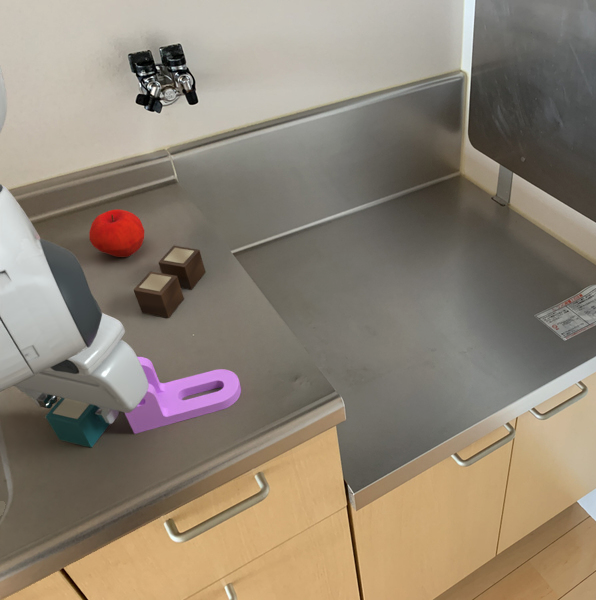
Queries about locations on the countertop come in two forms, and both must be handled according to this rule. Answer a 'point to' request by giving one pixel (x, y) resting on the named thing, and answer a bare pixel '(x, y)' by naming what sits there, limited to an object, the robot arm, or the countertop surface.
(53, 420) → the letter block
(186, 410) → the bracket
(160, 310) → the block
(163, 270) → the block
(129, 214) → the apple
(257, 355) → the countertop surface
